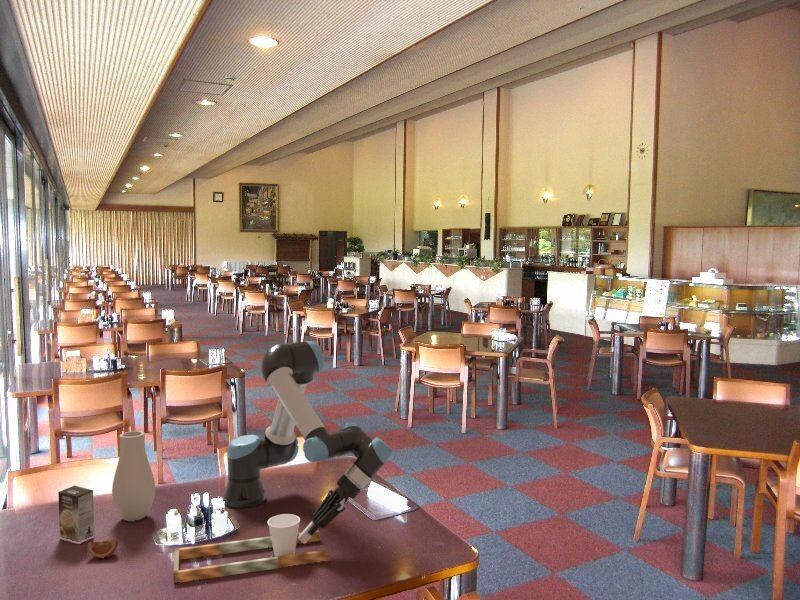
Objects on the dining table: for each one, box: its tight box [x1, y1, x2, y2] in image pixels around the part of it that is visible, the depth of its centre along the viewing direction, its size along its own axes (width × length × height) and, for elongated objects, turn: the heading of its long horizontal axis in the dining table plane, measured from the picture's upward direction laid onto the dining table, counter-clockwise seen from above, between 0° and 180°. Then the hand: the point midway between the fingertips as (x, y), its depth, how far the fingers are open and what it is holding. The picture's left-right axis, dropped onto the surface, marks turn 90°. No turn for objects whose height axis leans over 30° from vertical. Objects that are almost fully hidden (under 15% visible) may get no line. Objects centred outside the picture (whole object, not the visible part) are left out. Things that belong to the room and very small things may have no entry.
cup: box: [266, 513, 301, 557], centre depth 198 cm, size 10×10×11 cm
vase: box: [111, 430, 156, 522], centre depth 224 cm, size 14×14×30 cm
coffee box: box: [57, 485, 95, 542], centre depth 209 cm, size 9×6×16 cm
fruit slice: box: [87, 539, 119, 559], centre depth 198 cm, size 8×7×5 cm
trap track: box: [173, 529, 329, 584], centre depth 196 cm, size 44×15×3 cm, turn 108°
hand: (301, 540), depth 199 cm, fingers closed
